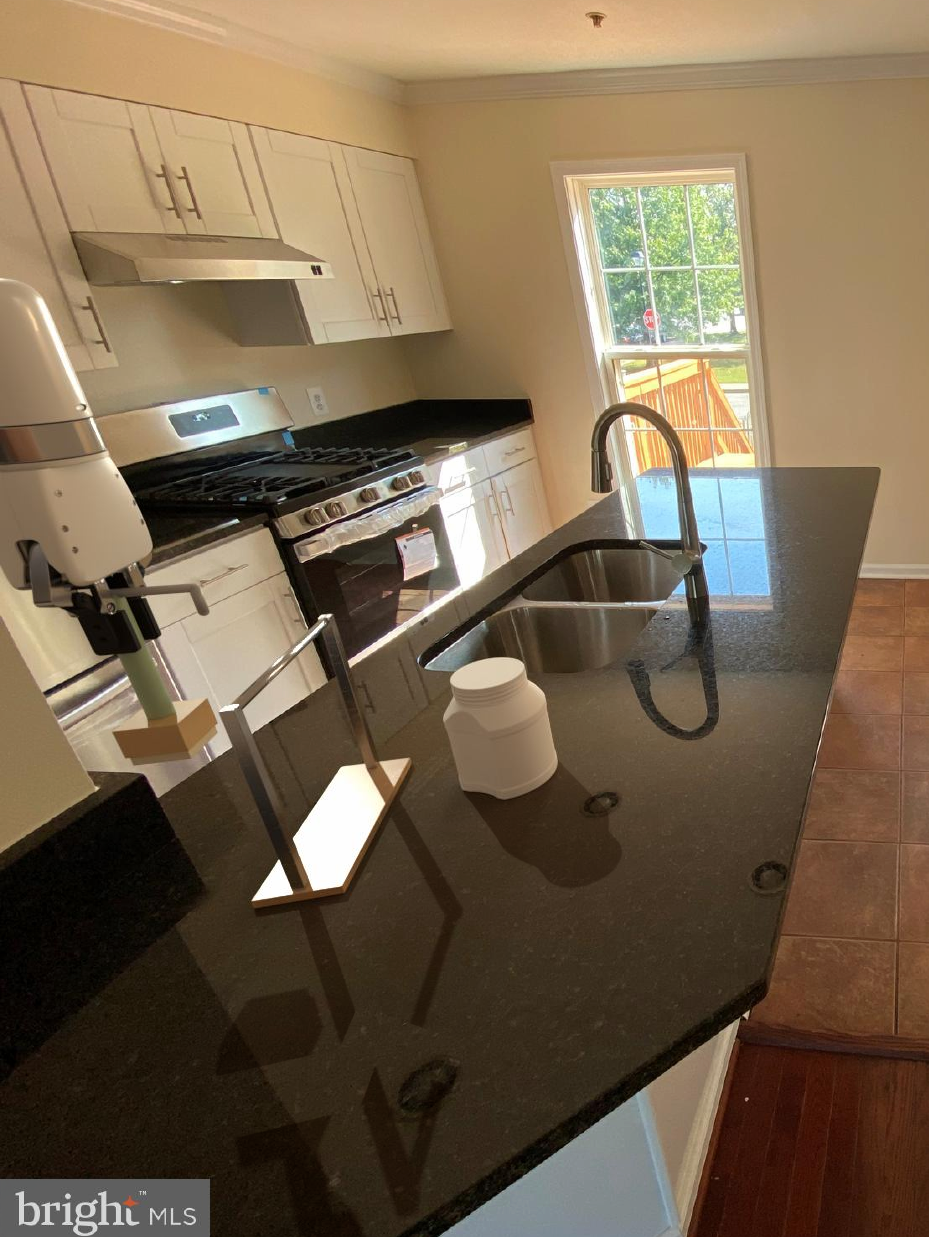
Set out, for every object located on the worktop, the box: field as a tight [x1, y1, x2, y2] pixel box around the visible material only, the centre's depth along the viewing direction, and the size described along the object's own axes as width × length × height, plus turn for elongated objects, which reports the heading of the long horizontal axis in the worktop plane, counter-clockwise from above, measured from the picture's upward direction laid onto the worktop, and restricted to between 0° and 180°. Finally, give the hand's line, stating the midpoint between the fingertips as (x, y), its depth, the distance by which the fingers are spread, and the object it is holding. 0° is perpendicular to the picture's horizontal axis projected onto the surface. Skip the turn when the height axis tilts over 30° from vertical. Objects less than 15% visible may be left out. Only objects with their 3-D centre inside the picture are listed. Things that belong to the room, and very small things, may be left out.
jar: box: [442, 656, 559, 801], centre depth 88 cm, size 12×10×15 cm
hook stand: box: [109, 582, 219, 766], centre depth 65 cm, size 9×5×17 cm, turn 105°
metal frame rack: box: [218, 613, 412, 909], centre depth 77 cm, size 8×23×22 cm, turn 15°
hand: (129, 644), depth 63 cm, fingers closed on hook stand
